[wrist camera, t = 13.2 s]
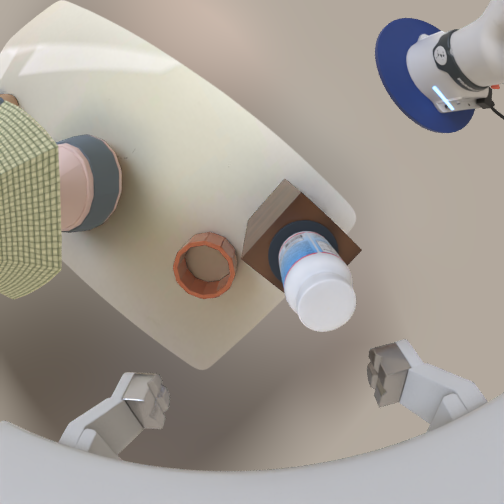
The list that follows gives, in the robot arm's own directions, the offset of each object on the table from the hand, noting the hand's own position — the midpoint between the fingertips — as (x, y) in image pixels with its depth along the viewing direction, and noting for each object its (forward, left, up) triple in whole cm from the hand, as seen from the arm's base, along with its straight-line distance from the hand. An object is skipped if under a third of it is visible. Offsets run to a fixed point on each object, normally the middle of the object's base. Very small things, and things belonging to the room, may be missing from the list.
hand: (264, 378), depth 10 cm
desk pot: (+11, +9, -41) cm, 44 cm away
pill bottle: (-4, +4, -22) cm, 22 cm away
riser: (-4, +4, -41) cm, 42 cm away
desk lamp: (+33, -11, -42) cm, 54 cm away
